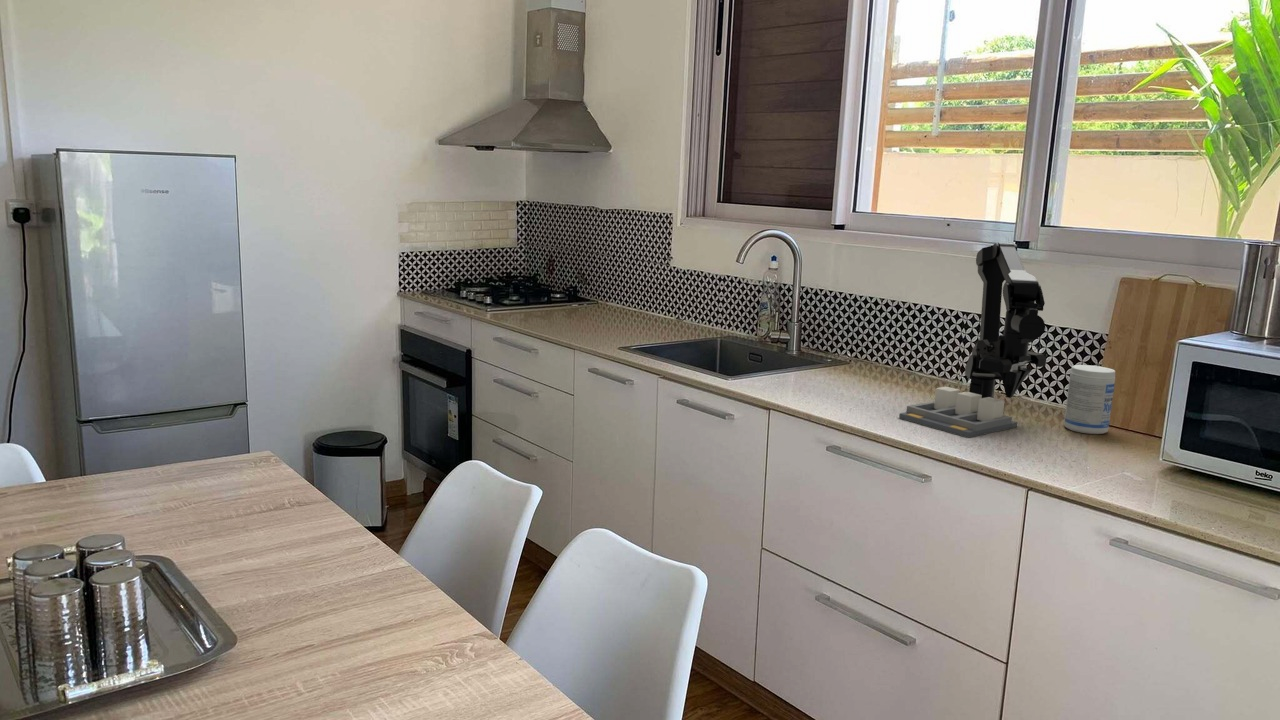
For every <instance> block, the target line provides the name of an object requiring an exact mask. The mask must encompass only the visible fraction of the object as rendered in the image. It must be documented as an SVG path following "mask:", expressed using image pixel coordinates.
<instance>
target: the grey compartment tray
mask: <svg viewBox="0 0 1280 720" xmlns="http://www.w3.org/2000/svg"><path fill="white" fill-rule="evenodd" d="M934 402H935V400H933V401H929V402H923V403H921V402H920V403H916V404H912V405H911V404H910V405H906V411H905V412H900V413H899V417H898V419H900V420H905V421H908V422H912V423H915V424H919V425H921V426H925V427H929V428H931V429H932V428H933V429H935V430H940V431H943V432H947V433H950V434H953V435H957V436H961V437H964V438H966V439H967V438H968V439H969V438H974V437H978V436H982V435H987V434H993V433H995V432H996V433H998V432H1000V431H1001V432H1002V431H1005V430H1010V429H1014V428H1017V427H1018V421H1015V420H1013V416H1008V415H1005V414H1003V417H1000V418H995V419H990V420H986V421H980V420H977V414H978V412H973V413H968V414H963V415H958V414H955V408H956V406H954V407H948V408H943V409H935V408H934Z"/></svg>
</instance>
